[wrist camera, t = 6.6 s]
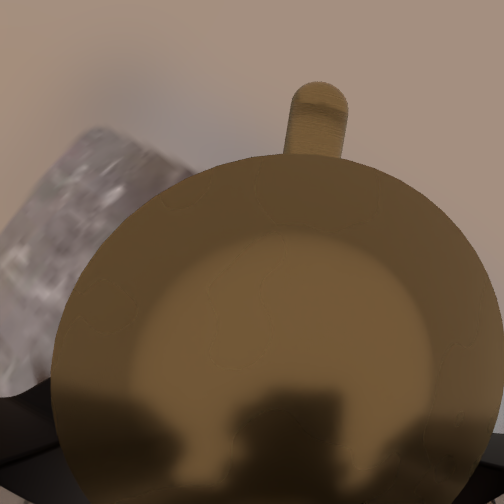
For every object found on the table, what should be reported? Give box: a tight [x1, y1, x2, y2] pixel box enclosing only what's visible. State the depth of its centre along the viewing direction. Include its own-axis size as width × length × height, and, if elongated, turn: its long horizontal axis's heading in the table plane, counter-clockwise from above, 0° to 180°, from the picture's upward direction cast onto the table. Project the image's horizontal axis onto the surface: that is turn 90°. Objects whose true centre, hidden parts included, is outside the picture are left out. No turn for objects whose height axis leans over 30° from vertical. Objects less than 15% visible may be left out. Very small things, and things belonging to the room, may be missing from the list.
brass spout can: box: [51, 82, 504, 504], centre depth 9 cm, size 8×5×13 cm
